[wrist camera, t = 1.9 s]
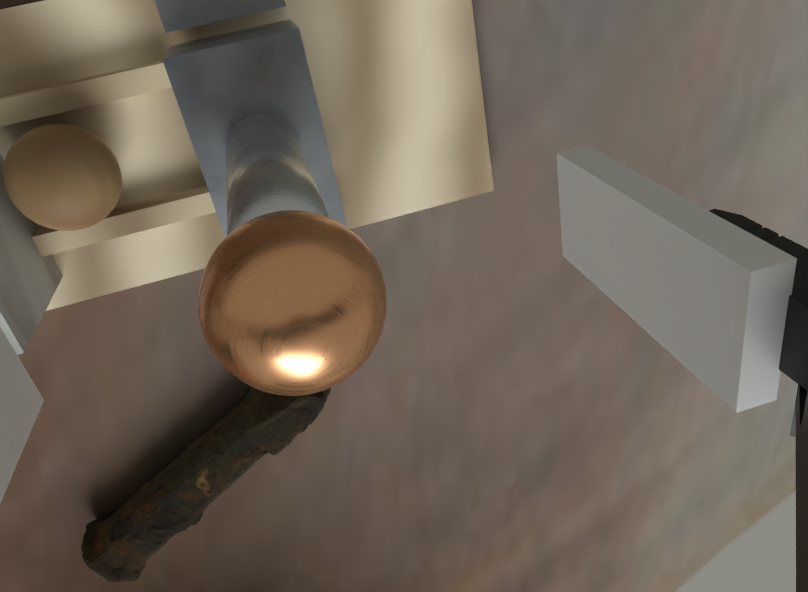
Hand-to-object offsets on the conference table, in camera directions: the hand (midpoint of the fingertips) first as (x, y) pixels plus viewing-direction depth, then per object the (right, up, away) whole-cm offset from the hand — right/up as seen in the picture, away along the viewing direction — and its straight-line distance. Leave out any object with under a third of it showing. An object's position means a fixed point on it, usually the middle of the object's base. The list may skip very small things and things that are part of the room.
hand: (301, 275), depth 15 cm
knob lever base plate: (-8, +8, +16) cm, 19 cm away
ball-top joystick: (-4, +8, +15) cm, 17 cm away
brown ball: (-12, +5, +14) cm, 19 cm away
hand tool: (-10, -9, +24) cm, 28 cm away
